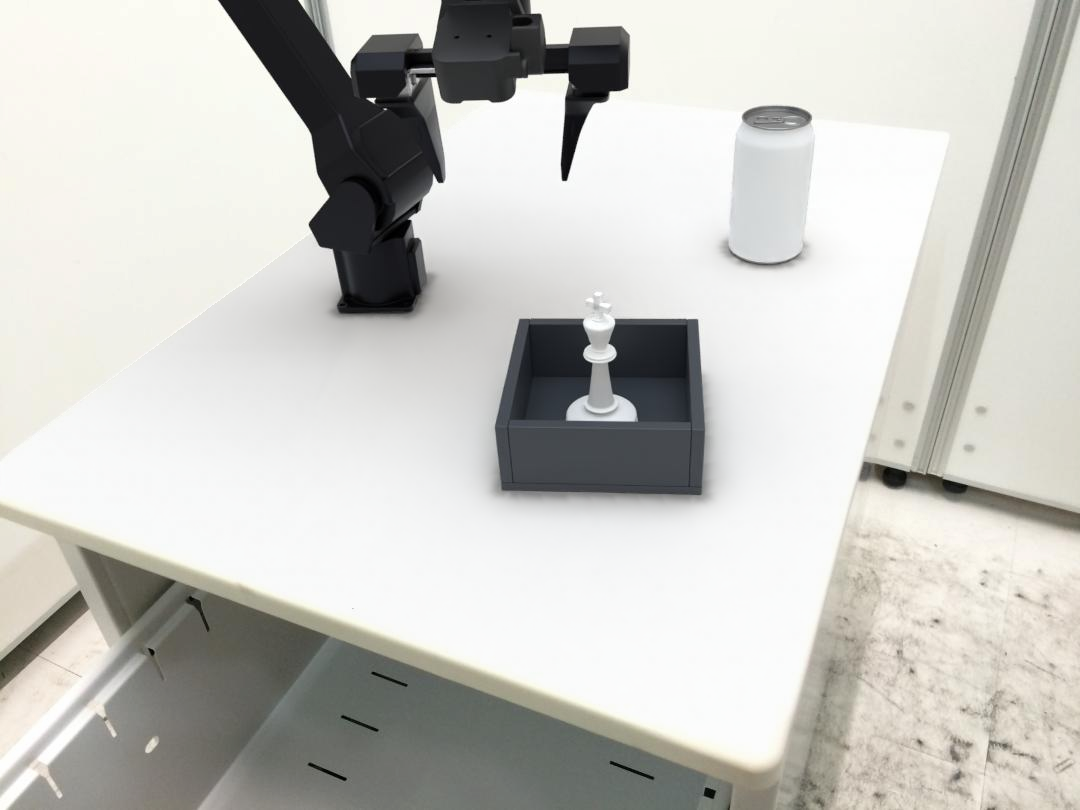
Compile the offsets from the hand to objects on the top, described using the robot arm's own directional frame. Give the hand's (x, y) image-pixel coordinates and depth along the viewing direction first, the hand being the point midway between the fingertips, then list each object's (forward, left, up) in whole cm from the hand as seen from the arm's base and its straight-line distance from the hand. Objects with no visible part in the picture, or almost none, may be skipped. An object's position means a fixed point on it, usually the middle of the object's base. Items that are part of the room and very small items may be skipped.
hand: (503, 180), depth 70 cm
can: (+21, +12, -12) cm, 27 cm away
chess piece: (+8, -14, -12) cm, 20 cm away
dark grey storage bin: (+8, -14, -12) cm, 20 cm away
